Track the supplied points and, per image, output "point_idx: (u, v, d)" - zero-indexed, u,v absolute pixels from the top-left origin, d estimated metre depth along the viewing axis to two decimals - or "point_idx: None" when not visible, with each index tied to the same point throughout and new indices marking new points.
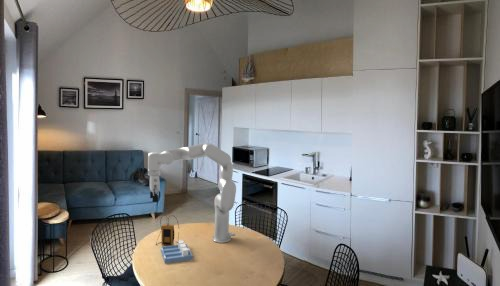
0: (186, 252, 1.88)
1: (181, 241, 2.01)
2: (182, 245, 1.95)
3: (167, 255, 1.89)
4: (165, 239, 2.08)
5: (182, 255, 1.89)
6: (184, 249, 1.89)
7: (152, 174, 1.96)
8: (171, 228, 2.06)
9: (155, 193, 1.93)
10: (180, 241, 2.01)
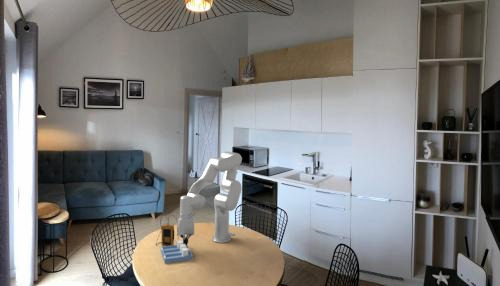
0: (186, 252, 1.88)
1: (180, 241, 2.00)
2: (182, 245, 1.95)
3: (167, 255, 1.89)
4: (165, 239, 2.08)
5: (182, 255, 1.89)
6: (184, 249, 1.89)
7: (192, 216, 2.00)
8: (171, 228, 2.06)
9: (190, 235, 2.02)
10: (179, 241, 2.00)
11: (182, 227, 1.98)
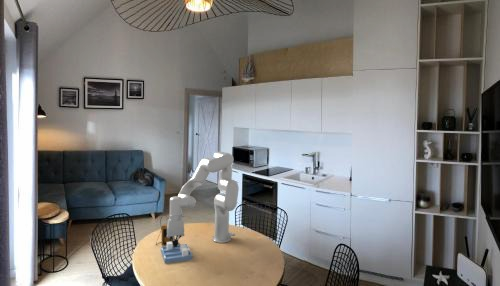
0: (186, 252, 1.88)
1: (169, 242, 1.98)
2: (182, 245, 1.95)
3: (167, 255, 1.89)
4: (165, 239, 2.08)
5: (182, 255, 1.89)
6: (184, 249, 1.89)
7: (181, 218, 1.98)
8: None
9: (180, 236, 2.00)
10: (168, 242, 1.98)
11: (172, 228, 1.96)
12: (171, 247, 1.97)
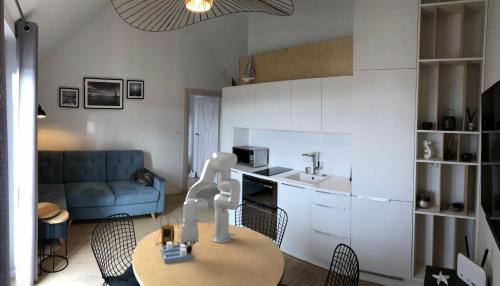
0: (184, 252, 1.88)
1: (169, 242, 1.98)
2: (182, 245, 1.95)
3: (167, 255, 1.89)
4: (165, 239, 2.08)
5: (180, 255, 1.89)
6: (182, 249, 1.89)
7: (196, 223, 1.89)
8: (171, 228, 2.06)
9: None
10: (168, 242, 1.98)
11: (186, 234, 1.87)
12: (171, 247, 1.97)
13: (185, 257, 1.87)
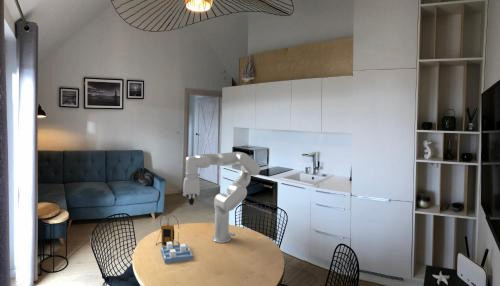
0: (174, 254, 1.85)
1: (169, 242, 1.98)
2: (182, 245, 1.95)
3: (167, 255, 1.89)
4: (165, 239, 2.08)
5: (170, 257, 1.86)
6: (172, 251, 1.86)
7: (197, 177, 2.05)
8: (171, 228, 2.06)
9: None
10: (168, 242, 1.98)
11: (188, 187, 2.02)
12: (171, 247, 1.97)
13: (185, 257, 1.87)
